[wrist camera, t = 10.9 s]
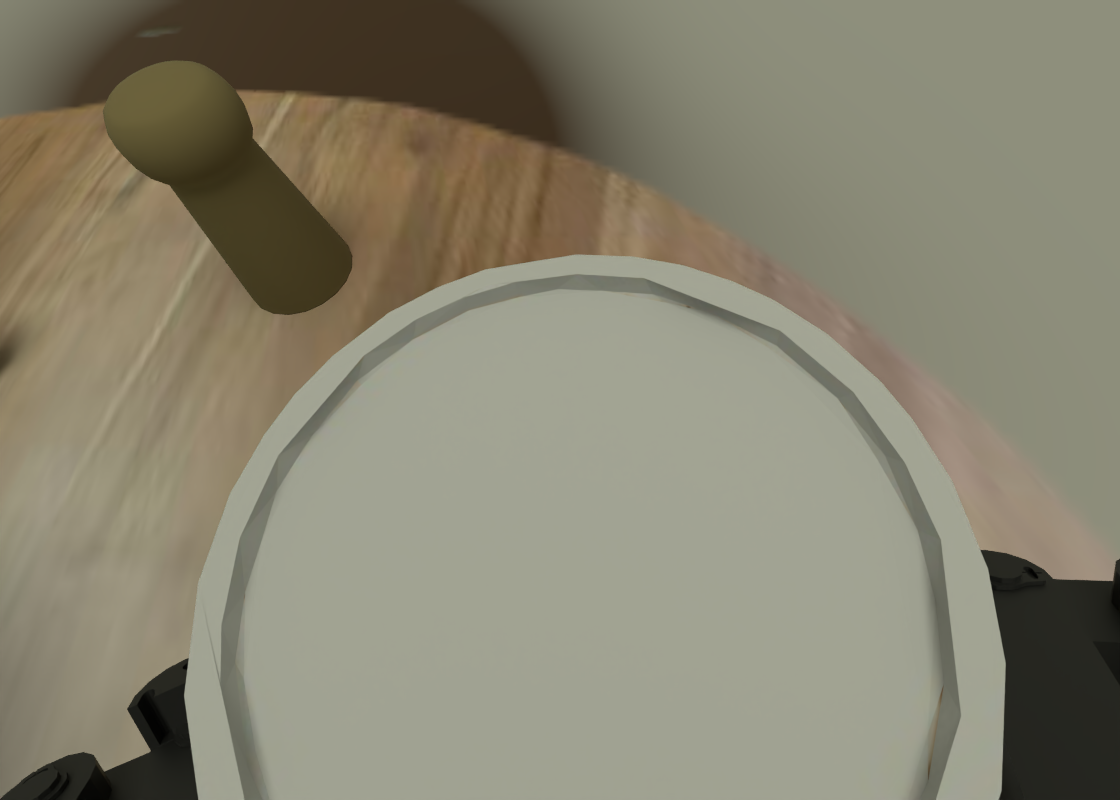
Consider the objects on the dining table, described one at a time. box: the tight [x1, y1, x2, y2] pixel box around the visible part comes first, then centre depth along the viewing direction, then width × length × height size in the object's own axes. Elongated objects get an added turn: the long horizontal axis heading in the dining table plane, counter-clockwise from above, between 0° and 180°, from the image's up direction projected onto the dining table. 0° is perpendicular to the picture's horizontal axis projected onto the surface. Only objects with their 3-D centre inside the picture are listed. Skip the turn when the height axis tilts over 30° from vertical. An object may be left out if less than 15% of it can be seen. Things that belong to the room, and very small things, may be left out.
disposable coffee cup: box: [184, 255, 1006, 800], centre depth 11 cm, size 10×10×12 cm
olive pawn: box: [103, 61, 352, 315], centre depth 25 cm, size 6×6×11 cm
